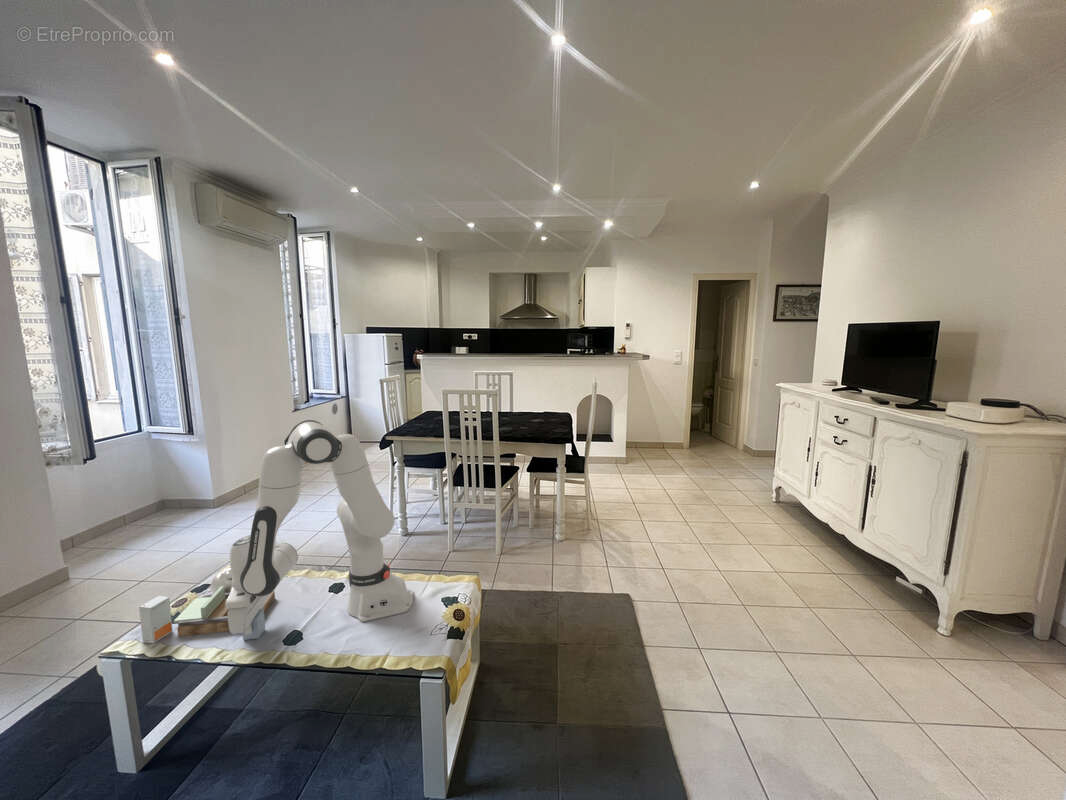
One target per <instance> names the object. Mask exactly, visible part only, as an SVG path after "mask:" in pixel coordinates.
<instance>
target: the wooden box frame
mask: <svg viewBox="0 0 1066 800" xmlns="http://www.w3.org/2000/svg"><path fill="white" fill-rule="evenodd" d="M275 593H276V592H275V590H274V591H273V592H272V593H271V595H270V596H269V598H268V599H267V601H266V602H265V603H264V605H263V609H264V615H265V614H266V613H267V612H268V610H269V608H270V607H271V605H272V604H273V603H274V601H275V599H276V596H275V595H276V594H275ZM213 594H214V593H212V594H205V595H203V596H202V598H205V597H211V596H212V595H213ZM229 595H230V593H225V598H224V599H223V601H222V602H221V603H220V604H219V605H218V606H217V608H216V609H215V610H214V611H213V612H212V613H211V615H210V616H209V617H208V618H205V619H195V620H186V621H180V622H179V623H177V637H185V636H194V635H201V634H202V635H203V634H213V633H222V632H230V630H229V625H228V610H229V609H226V607H225V603H226V601H227V599H228V597H229Z"/></svg>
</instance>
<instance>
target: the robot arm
mask: <svg viewBox="0 0 1066 800" xmlns="http://www.w3.org/2000/svg"><path fill="white" fill-rule="evenodd" d="M306 463H308V464H312V465H320V464H326V463H329V464H330V468H331V471H332V474H333V477H334V481H335V484H336V487H337V490H338V493H339V495H340V496H341V498H342V499H341V500H340V502H339V503H338V504H337V506H336V515H337V517H338V519H339V521H340V524H341V527H342V529H343V532H344V533H343V534H344V536H345V537H344V538H345V540H346V544H347V548H348V553H349V555H348V556H349V557H348V558H349V571H348V585H349V588H350V589H349V597H348V603H347V607H346V612H347V613H348V615H350V616H352V617H355V618H357V619H358V621H360V622H368V621H373V620H377V619H381V618H386V617H390V616H394V615H399V614H404V613H406V612H408V611H409V610H410V609H411V607H412V605H413V603H414V592H413V590H412V588H410V587H407V585H406V581H405V580H404V579H403V578H402V577H400V576H398V575H396V574H393V573H392V572H391V569H390V568H391V567H390V563H387V564H386V563H385V561H384V544H383V541H382V538H384V537H387V535H389V534H390V533H391V531H393V528H394V526H395V515H394V513H392V511H391V509H389V507H388V506H387V504H386V502H385V501H384V499H383V497H382V495H381V493H380V491H379V489H378V487H377V486H376V483H375V481H374V479H373V475H372V473H371V468H370V466H369V461H368V459H367V455H366V453H365V450H364V448H363V446H362V443H361V442H360V440H359V439H358V437H357V436H356V435H354V434H350V433H343V434H340V435H334V434H333V433H332V432H331V431H330V430H329V429H328V428H327V427H326V426H324V425H323V424H322V423H321V422H319V421H317V420H312V419H306V420H303V421H302V420H301V421H300V422H298V423H297V424H296V425H295V426H294V427H293V428H292V429H291V431H290V433H289V434H288V435H287V436H286V438H285V440H284V445H278V446H274V447H272V448H269V449H268V450H267V451H266V452H264V455H263V458H262V461H261V465H260V471H259V477H258V478H259V479H258V480H259V481H258V492H257V502H256V506H255V507H256V508H255V513H254V516H253V521H252V525H251V529H250V530H251V531H250V535H245V536H244V537H241V538H239V539H238V540H236V541H235V542H234V543H232V545H231V548H230V551H229V553H230V554H229V564H230V567H229V568H231V571H232V573H233V579H232V588H231V592H230V595H229V597H228V599H227V601H226V603H225V607H226V609H229V610H228V625H229V630H230V631H229V632H230V633H231V634H233V635H236V634H243V632H245V634H246V635H248V634H251V633H252V632H253V626H251V622H252V620H253V619H254V618H255V616H256V615H257V613H258V612H259V611H260V609H263V605H264V603H265V602H266V601H267V599H268V598H269V596H270V595H271V593H272V592H273V591H275V589H276V588H277V587H278V585H279V584H280V583H281V581H282V580H283V579H284V578H285V577H286V576H287V575H288V573H289V572H290V571H291V570H292V569H293V568H294V566H295V565H296V564H297V562H298V559H299V556H298V552H297V549H295V547H294V546H293V545H291V544H289V543H287V542H276V540H277V535H278V534H277V533H278V532H279V528H280V527H281V525H282V524H283V522H284V520H285V518H286V517H287V516H288V515H289V514H290V512H291V511H292V510H293V509H294V507H295V506H296V505H297V503H298V501H299V498H300V494H301V490H302V471H303V467H304V466H305V464H306Z"/></svg>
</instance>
